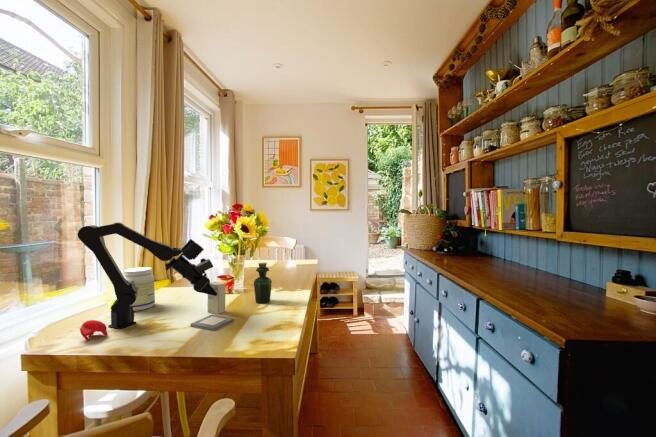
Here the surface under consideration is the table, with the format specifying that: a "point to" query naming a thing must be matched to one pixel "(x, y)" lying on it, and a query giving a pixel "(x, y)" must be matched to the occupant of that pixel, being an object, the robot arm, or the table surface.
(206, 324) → the slate pad
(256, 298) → the potion bottle
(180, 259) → the robot arm
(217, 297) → the skincare box
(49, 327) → the table surface
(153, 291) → the supplement tub
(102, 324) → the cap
